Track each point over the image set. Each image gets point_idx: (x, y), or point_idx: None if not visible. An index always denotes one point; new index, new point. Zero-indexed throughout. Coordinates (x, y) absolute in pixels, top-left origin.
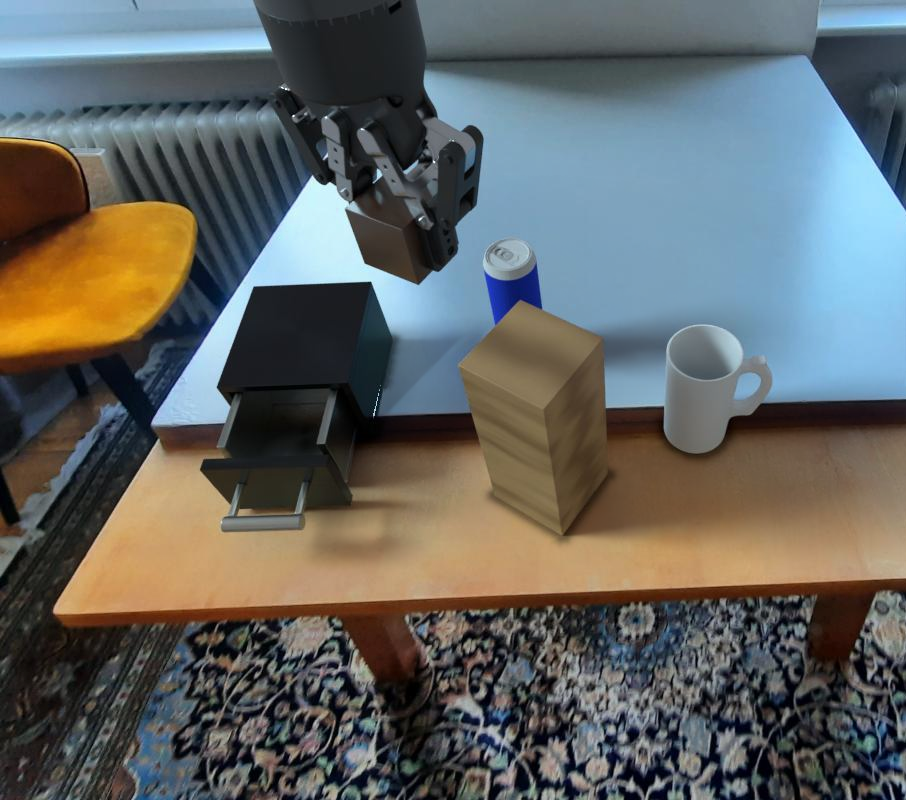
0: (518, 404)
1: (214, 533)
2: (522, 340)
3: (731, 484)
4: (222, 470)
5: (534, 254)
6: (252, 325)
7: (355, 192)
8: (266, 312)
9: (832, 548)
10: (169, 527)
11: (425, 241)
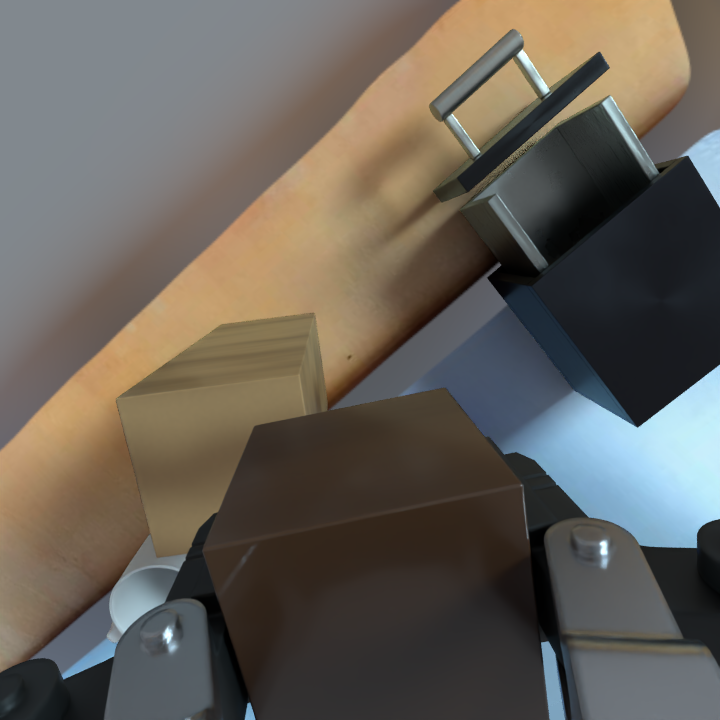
0: (178, 384)
1: (545, 55)
2: None
3: (130, 482)
4: (572, 75)
5: None
6: None
7: (548, 575)
8: None
9: (7, 486)
10: (599, 21)
11: None
